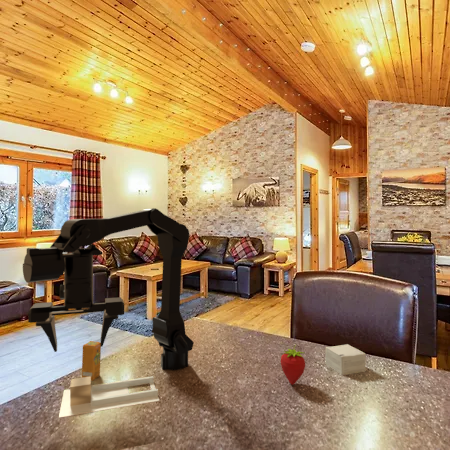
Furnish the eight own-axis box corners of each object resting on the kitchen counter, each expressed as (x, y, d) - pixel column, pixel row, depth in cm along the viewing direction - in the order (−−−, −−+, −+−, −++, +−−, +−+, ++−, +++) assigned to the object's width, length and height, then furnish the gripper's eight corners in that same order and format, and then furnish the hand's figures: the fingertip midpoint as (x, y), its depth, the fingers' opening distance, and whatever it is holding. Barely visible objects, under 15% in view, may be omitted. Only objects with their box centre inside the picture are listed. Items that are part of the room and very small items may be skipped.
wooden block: (90, 393, 80) (90, 376, 80) (90, 402, 76) (90, 384, 76) (71, 396, 78) (71, 379, 78) (70, 405, 75) (70, 387, 75)
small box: (347, 361, 103) (348, 343, 103) (366, 372, 95) (366, 353, 95) (324, 364, 101) (324, 346, 100) (341, 376, 93) (341, 356, 93)
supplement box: (93, 386, 86) (93, 346, 86) (81, 385, 87) (81, 345, 87) (101, 380, 90) (101, 341, 89) (89, 379, 90) (88, 340, 90)
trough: (151, 383, 88) (151, 372, 88) (159, 407, 77) (159, 395, 77) (64, 396, 82) (64, 384, 82) (58, 425, 70) (58, 411, 70)
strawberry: (298, 376, 92) (299, 338, 92) (309, 390, 85) (309, 349, 85) (276, 378, 91) (277, 339, 91) (285, 392, 84) (286, 350, 84)
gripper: (121, 269, 87) (121, 332, 88) (36, 273, 81) (37, 341, 81) (124, 276, 77) (124, 348, 77) (27, 281, 71) (28, 359, 71)
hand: (79, 348), depth 77 cm, fingers open, 9 cm apart
